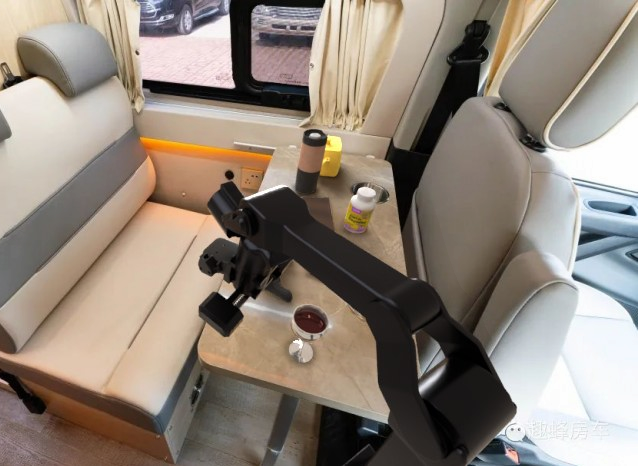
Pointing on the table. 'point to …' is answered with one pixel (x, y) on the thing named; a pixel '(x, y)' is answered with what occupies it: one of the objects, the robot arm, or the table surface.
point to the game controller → (279, 290)
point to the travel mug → (310, 160)
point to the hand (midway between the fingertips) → (241, 306)
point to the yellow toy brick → (331, 157)
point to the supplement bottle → (360, 210)
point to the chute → (321, 210)
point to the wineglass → (307, 330)
